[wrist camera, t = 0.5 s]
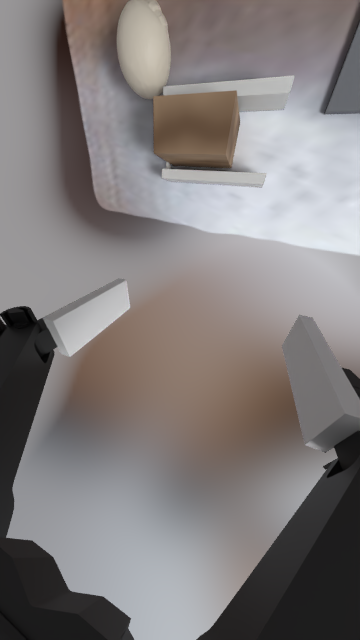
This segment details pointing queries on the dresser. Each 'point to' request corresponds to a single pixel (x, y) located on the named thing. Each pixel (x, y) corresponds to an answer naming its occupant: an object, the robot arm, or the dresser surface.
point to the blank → (196, 128)
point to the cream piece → (144, 47)
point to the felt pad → (348, 82)
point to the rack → (250, 98)
